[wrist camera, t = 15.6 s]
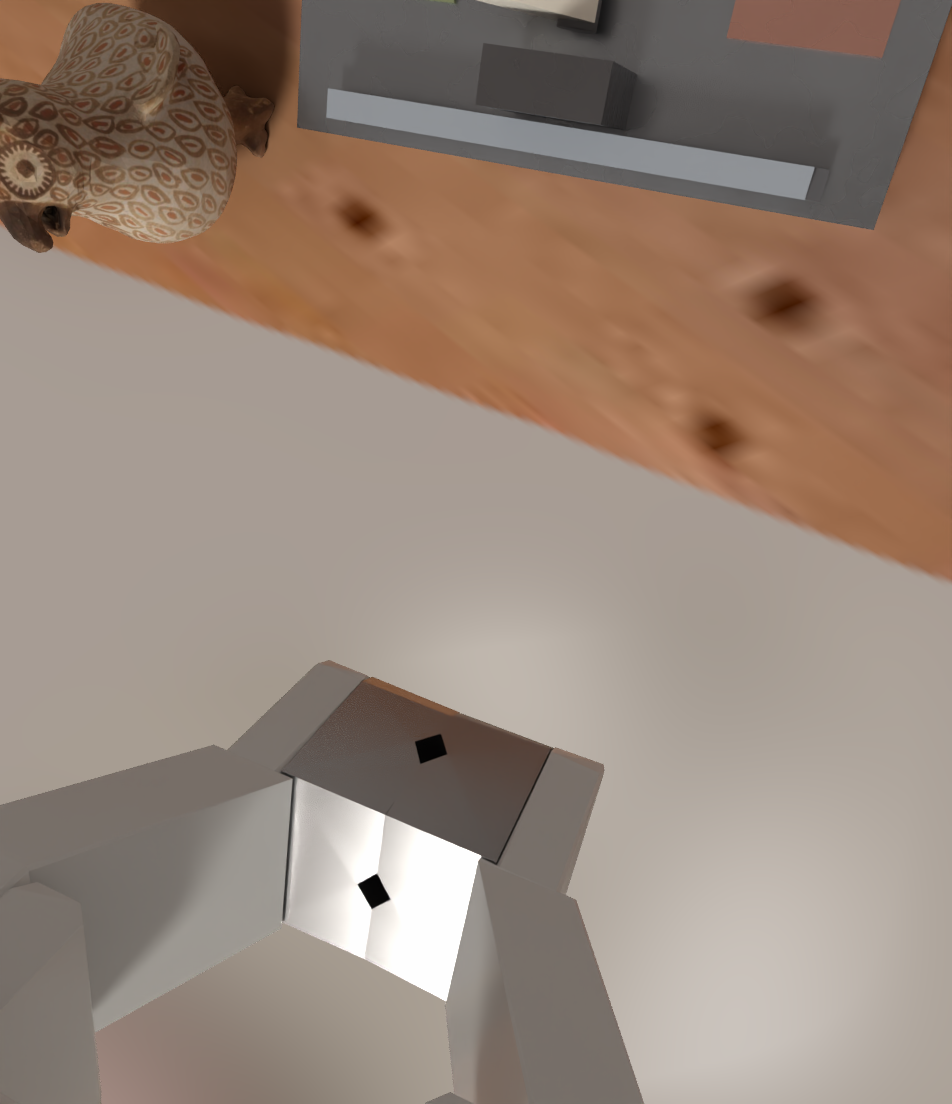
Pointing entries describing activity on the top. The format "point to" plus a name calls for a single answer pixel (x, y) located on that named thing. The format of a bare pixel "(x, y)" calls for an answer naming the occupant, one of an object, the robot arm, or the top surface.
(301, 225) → the top surface
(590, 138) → the pair of grey bars
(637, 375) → the top surface
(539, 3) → the lever
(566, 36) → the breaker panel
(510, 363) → the top surface
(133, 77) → the figurine
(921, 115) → the top surface
